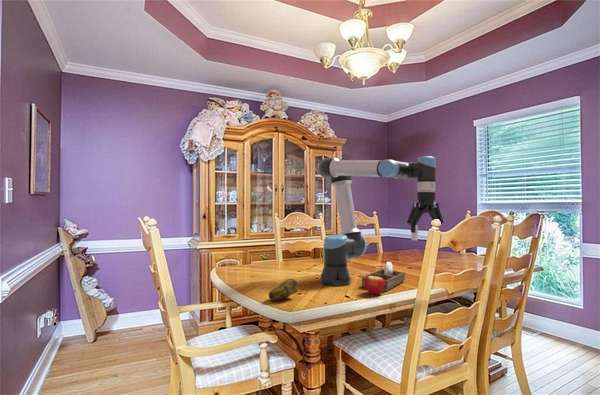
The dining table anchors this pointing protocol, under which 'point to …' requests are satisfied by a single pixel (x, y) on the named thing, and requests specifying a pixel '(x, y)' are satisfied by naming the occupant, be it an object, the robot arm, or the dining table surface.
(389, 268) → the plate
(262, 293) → the dining table surface
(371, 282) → the apple
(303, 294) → the dining table surface
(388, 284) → the wooden tray
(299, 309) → the dining table surface
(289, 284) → the avocado
